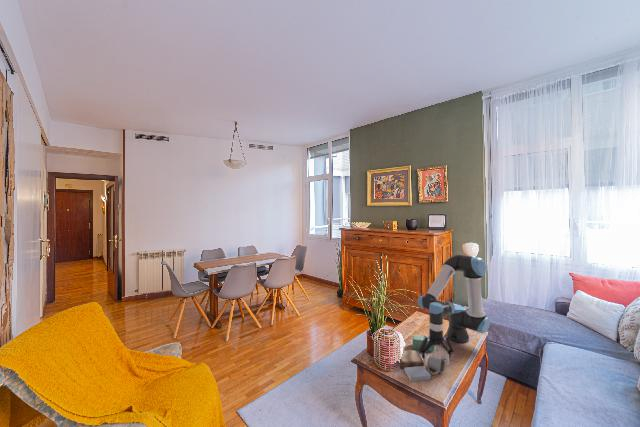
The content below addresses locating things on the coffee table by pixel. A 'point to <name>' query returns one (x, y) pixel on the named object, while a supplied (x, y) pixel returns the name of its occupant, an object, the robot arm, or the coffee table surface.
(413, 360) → the walnut riser
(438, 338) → the robot arm
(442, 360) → the ceramic mug
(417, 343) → the box
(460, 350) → the coffee table surface
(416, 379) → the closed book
